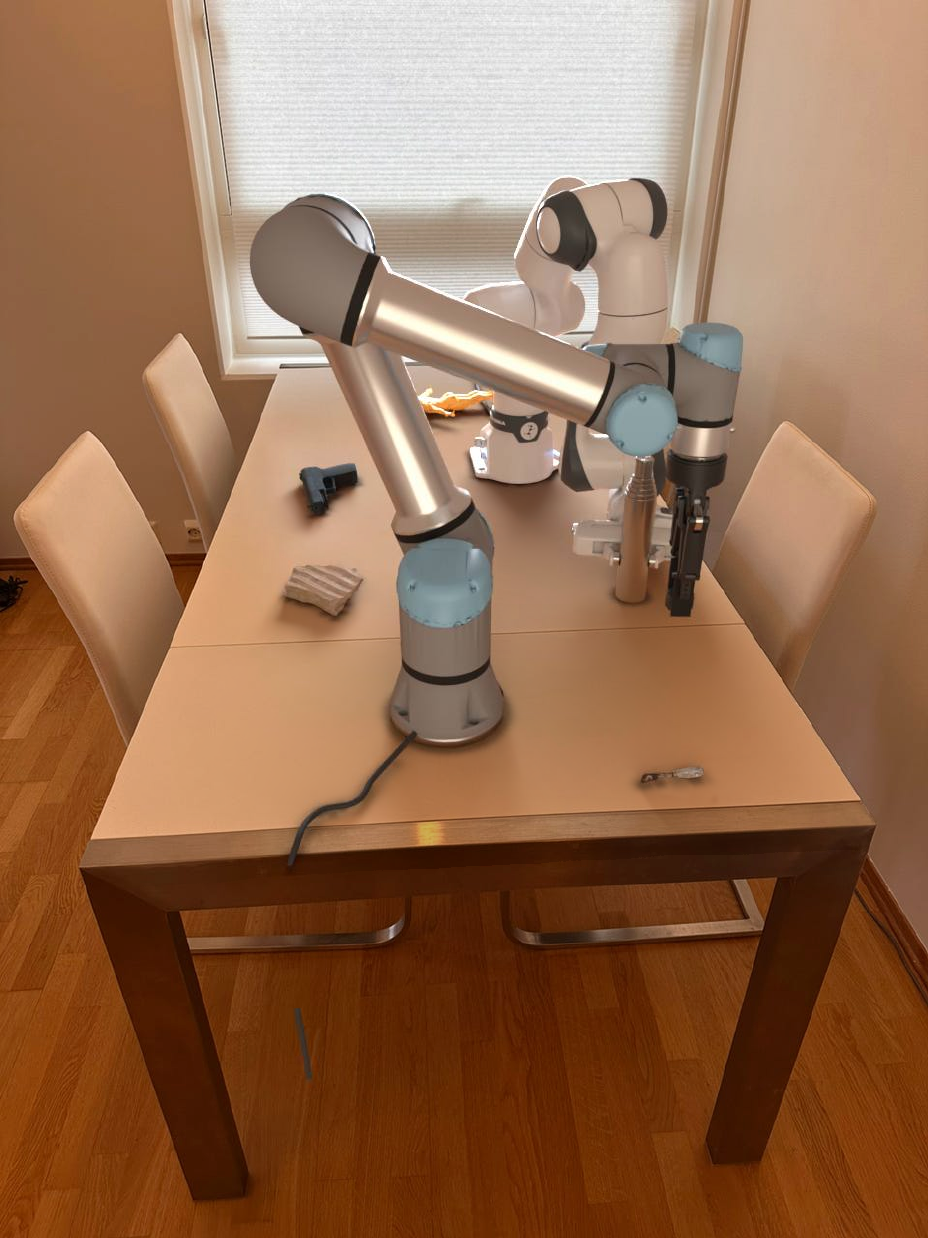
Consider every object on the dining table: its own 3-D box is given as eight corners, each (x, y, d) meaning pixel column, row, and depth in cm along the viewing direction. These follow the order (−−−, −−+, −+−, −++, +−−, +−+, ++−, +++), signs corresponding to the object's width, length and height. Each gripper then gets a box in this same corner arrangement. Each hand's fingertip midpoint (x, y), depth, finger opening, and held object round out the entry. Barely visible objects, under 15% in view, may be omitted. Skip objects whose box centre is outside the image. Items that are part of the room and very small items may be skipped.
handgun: (369, 509, 176) (308, 516, 174) (354, 474, 190) (298, 480, 188) (368, 494, 174) (307, 501, 172) (353, 460, 189) (296, 466, 186)
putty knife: (703, 777, 109) (705, 767, 109) (642, 788, 108) (644, 777, 107) (700, 772, 110) (702, 762, 109) (639, 782, 109) (640, 771, 108)
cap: (673, 615, 124) (674, 601, 123) (659, 601, 127) (661, 588, 126) (698, 610, 125) (700, 597, 124) (684, 597, 128) (686, 583, 127)
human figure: (395, 413, 223) (394, 398, 221) (438, 390, 237) (438, 375, 235) (462, 429, 215) (462, 413, 213) (502, 404, 229) (503, 388, 227)
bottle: (614, 601, 146) (628, 462, 133) (616, 586, 150) (629, 450, 137) (644, 604, 145) (661, 465, 132) (645, 589, 149) (661, 453, 136)
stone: (372, 582, 151) (371, 569, 149) (337, 617, 141) (336, 603, 140) (307, 569, 155) (305, 556, 154) (268, 602, 146) (266, 588, 144)
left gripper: (740, 476, 107) (715, 640, 119) (716, 427, 121) (695, 578, 133) (677, 476, 107) (658, 639, 120) (660, 427, 121) (645, 577, 134)
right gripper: (573, 505, 154) (570, 541, 143) (694, 512, 152) (701, 549, 140) (571, 538, 158) (568, 576, 146) (689, 545, 155) (695, 584, 143)
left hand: (678, 606), depth 126 cm, fingers closed on cap, 4 cm apart
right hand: (634, 563), depth 143 cm, fingers closed on bottle, 5 cm apart
